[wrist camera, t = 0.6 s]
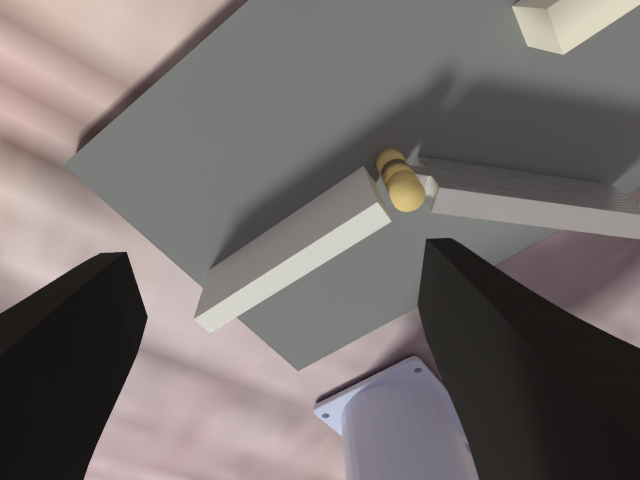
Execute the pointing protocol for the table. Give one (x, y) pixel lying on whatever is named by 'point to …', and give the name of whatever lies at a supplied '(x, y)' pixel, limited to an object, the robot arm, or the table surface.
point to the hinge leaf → (522, 197)
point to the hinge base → (360, 148)
